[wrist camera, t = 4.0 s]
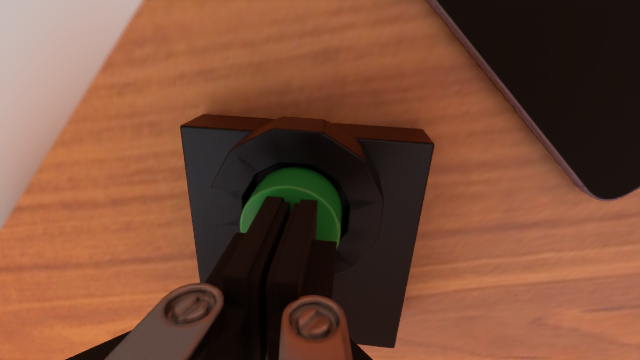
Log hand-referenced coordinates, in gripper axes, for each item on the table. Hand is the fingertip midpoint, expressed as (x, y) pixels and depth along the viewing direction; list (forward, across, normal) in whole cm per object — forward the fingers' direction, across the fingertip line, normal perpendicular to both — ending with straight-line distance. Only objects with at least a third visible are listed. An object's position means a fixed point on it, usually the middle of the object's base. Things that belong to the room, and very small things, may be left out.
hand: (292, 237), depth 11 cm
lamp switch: (+2, 0, 0) cm, 2 cm away
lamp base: (+5, 0, +3) cm, 6 cm away
